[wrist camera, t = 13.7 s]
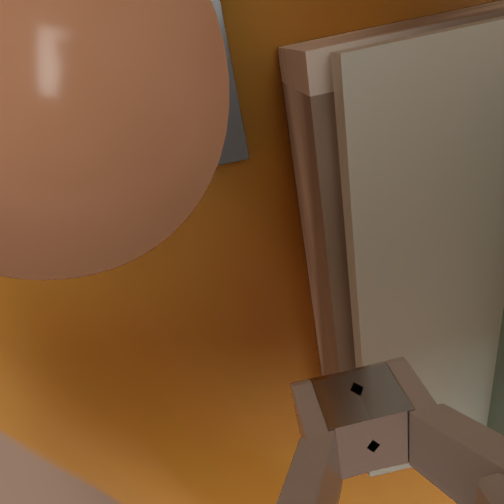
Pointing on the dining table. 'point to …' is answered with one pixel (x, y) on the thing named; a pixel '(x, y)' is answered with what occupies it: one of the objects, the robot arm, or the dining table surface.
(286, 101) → the sliding lid box
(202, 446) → the dining table surface
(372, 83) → the sliding lid panel
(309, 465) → the robot arm
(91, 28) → the terracotta knob
